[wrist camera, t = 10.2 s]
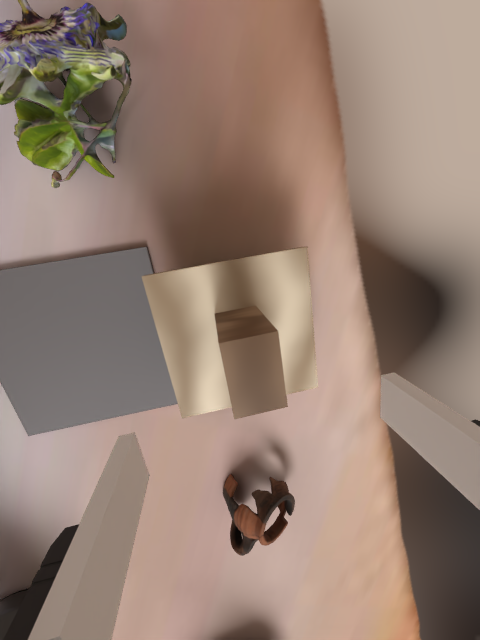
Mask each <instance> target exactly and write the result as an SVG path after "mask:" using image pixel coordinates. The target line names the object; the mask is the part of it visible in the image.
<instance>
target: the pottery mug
mask: <svg viewBox="0 0 480 640" xmlns="http://www.w3.org/2000/svg"><path fill="white" fill-rule="evenodd" d="M270 481H271V491H272V494H271V493H270V492H268V491H260V490H256V491H254V492H253V493H252V496H253V497H254V499H255V500H256V506H257V513H258V514H256V513H254V512H253V511H252V510H251V509H250V508H249V507H248V506H246V505H244V504H241V505H238V504H237V503H236V502H235V501H234V499H233V495H234V492H235V490H236V488H237V486H238V483H237V482H236V480H234V478H233V476H232V474H230V475H229V477H228V478H227V480H226V482H225V485H224V489H223V496H224V498H225V500H226V503H227V506H228V509H229V511H230V514H231V517H232V519H233V520H232V525H231V531H230V539H231V545H232V547H233V549H234V551H235V552H236V553H237V554H239V555H242V556H243V555H245V554H247V553H249V552H250V551H251V549H252V548H253V546H254V544H255V542H256V541H257V540H259V541H260V543H261V544H262V545H269V544H271V543H273V542H274V541H275V540H276V539H277V538H278V537H279V536H280V534H281V533H282V532H283V531H284V529H285V528H286V526H287V524H288V522H287V521H286V519H285V518H284V515H285V513H286V511H287V513H288V514H289V515H290V516H291V515H292V512H293V510H294V504H295V500H294V497H293V496H292V495H291V494H290V493H289V490H288V487H287V484H286V482H284V481H276V480H275V479H273V478H271V477H270ZM277 506H278V508H279V510H280V514H279V516H278V517H277V519H276V521H275V523H274V524H273V525H272V526H271V527H270V528H269V529H268V530H267V531H265V532H264V530H265V526H266V523H267V521H268V519H269V517H270V515H271V514H272V512H273V511H274V510H275V509H276V507H277ZM241 532H242V535H241ZM242 536H243V540H242Z"/></svg>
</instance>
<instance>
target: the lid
mask: <svg viewBox="0 0 480 640" xmlns="http://www.w3.org/2000/svg"><path fill="white" fill-rule="evenodd" d="M142 280H143V284H144V287H145V291H146V294H147V298H148V301H149V305H150V308H151V312H152V315H153V318H154V322H155V325H156V329H157V332H158V336H159V339H160V343H161V346H162V350H163V353H164V357H165V360H166V364H167V367H168V371H169V374H170V378H171V381H172V385H173V388H174V392H175V395H176V399H177V402H178V406H179V409H180V413H181V416H182V418H186V417H191V416H195V415H199V414H204V413H208V412H212V411H217V410H221V409H226V408H230V407H232V410H233V415H234V419H238V418H242V417H246V416H250V415H255V414H259V413H263V412H267V411H272V410H276V409H280V408H285V407H288V405H287V397H286V395H287V394H291V393H295V392H300V391H304V390H308V389H313V388H317V387H318V380H317V367H316V354H315V341H314V328H313V315H312V302H311V289H310V276H309V263H308V250H307V247H300V248H294V249H289V250H283V251H277V252H272V253H266V254H261V255H255V256H250V257H244V258H238V259H233V260H227V261H222V262H216V263H210V264H205V265H199V266H194V267H188V268H182V269H177V270H171V271H166V272H160V273H154V274H149V275H144V276H142Z"/></svg>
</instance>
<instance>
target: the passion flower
mask: <svg viewBox="0 0 480 640" xmlns="http://www.w3.org/2000/svg"><path fill="white" fill-rule="evenodd" d="M18 2H19V4H20V5H21V7H22V14H23V17H22V21H12V20H6V22H5V23H0V104H1V105H4V104H7V103H10V102H12V101H14V100H15V99H16V100H15V109H16V113H17V117H18V119H19V121H18V124H16V126H15V130H16V132H14V134H15V135H16V136H17V137H18V138H19V140H20V141H17V144H18V147H19V150H20V152H21V154H22V155H23V156H25V157H26V158H27V159H28V160H30V161H31V162H33V164H34V165H37V166H41V167H44V168H48V169H53V170H56V171H54V172H53V174H52V183H51V185H52V187H54V188H57V187H60V184H59V183H58V182H62V181H66V180H69V179H70V178H71V177H72V175H73V174H74V173H75V172H76V170H77V169H78V168H79V166H80V164H81V163H82V161H83V160H84V159H85V160H86V161H87V162H88V163H89V164H90V165H91V166H92V167H93V168H94V169H95V170H97V171H98V172H100V173H101V174H103V175H105V176H108V177H112V178H114V175H113V174H111V173H110V172H109V171H108V170H107V168H106V167H105V166H104V165H103V164H102V163H101V161H100V160H99V158H98V157H97V154H96V151H95V146H96V144H97V143H99V144H100V146H101V147H102V148H104V149H107V150H109V151H110V153H111V155H112V160H113V163H115V162H116V161H115V150H114V138H115V134H116V121H117V118H118V115H119V112H120V109H121V106H122V104H123V102H124V100H125V97H126V96H127V94H128V93H129V88H130V85H131V78H130V70H129V66H130V61H129V59H128V57H127V55H126V54H125V53H124V52H123V51H121V50H119V49H118V48H115V47H113V48H109V47H107V46H106V45H105V44H104V43H103V40H104V39H108V38H109V39H113V40H118V41H119V40H122V39H123V38H124V37H125V36H126V31H127V26H126V23H125V21H124V20H123V18H122V17H121V16H120V15H119V14H118V15H117V16H116V17H115V18H114V19H112V20H111V21H106V20H105V19H104V18H103V17H101V15H100V14H99V13H98V12H97V10H96V8H95V7H94V6H93V5H91V4H90V3H86V4H84V5H83V7H80V8H77V9H76V10H71V9H70V8H68V7H64V8H61V10H60V12H59V13H55V14H54V15H51V17H50V18H49V19H44V18H42V17H40V16H39V15H38V14H36V13H35V12H34V11H33V10H32V9H31V8H30V6H29V4H28V2H27V1H26V0H18ZM63 70H66V71H69V70H70V74H69V75H68V77H67V82H66V81H65V79H64V77H63V76H62V75H63V73H62V72H63ZM56 78H59V79H60V80H61V81H62V83H63V84H64V85H65V89H64V95H63V99H59V98H57V97H56V96H55V95H53V94H52V93H51V92H50V91H49V90H48V88H47V87H46V85H45V83H44V82H45V81H49V82H52V81H54V80H55V79H56ZM113 78H115V79H117V80H119V81H120V82H121V83H122V85H123V91H122V94H121V95H120V97H119V100H118V101H117V105H116V108H115V111H114V114H113V116H112V119H111V120H110V121H108V122H104V123H99V122H97V121H96V120H95V119H94V118H93V117H92V116H91V115H90V113H89V112H88V111H87V110H86V108H85V107H84V106H83V105H82V104H81V101H82V100H83V99H84V98H85V97H87V96H88V95H90V94H92V93H93V92H94V91H95V90H97V89H99V88H102V86H103V83H104V82H105V81H107V80H112V79H113ZM19 97H21V99H19ZM17 98H18V99H17ZM22 98H27V99H29V100H31V101H34V102H38V103H41V104H43V105H45V106H46V107H48V108H45V107H42V106H41V105H38V104H36V103H33V102H30V101H27V100H24V99H22ZM79 105H80V106H81V107H82V108H83V110H84V111H85V112H86V114H87V115H88V117H89V122H87V123H86V122H82V121H80V120H78V119H77V118H76V116H75V112H76V110H77V109H78V107H79ZM87 128H93V129H97V130H99V131H100V133H99V134H98V135H97V136H96V137H95V138H94V139H93V140H92V141H87V140H86V139H85V138H84V130H85V129H87ZM77 151H79V152H80V153H81V157H80V159H79V160H78V161H77V162H76V165H75V166H74V167H73V169H72V170H71V171H70V172H69V174H68V175H67V177H66V178H65V179H63V180H62V177H61V175H60V174H59V173H58V172H57V171H59V170H62V169H64V168H65V167H67V166H68V164H69V163H70V162H71V160H72V158H73V156H74V155H75V154H76V152H77Z"/></svg>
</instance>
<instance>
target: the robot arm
mask: <svg viewBox="0 0 480 640" xmlns="http://www.w3.org/2000/svg"><path fill="white" fill-rule="evenodd" d="M380 418H382V419H383V420H384V421H385V422H386V423H387V424H388V425H389V426H390V427H391V428H392V429H393V430H394V431H395V432H397V433H398V434H399V435H400V436H401V437H402V438H403V439H404V440H405V441H406V442H407V443H409V445H410V446H412V447H413V448H414V449H415V450H416V451H417V452H418V453H419V454H420V455H421V456H422V457H423V458H424V459H425V460H427V461H428V462H429V463H430V464H431V465H432V466H433V467H434V468H435V469H436V470H437V471H438V472H439V473H440V474H442V475H443V476H444V477H445V478H446V479H447V480H448V481H449V482H450V483H451V484H452V485H453V486H454V487H455V488H457V489H458V490H459V491H460V492H461V493H462V494H463V495H464V496H465V497H466V498H467V499H468V500H469V501H471V502H472V503H473V504H474V505H475V506H476V507H477V508H478V509H479V510H480V421H478V420H473V421H470V420H468V419H466V418H465V417H463V416H462V415H460V414H459V413H457V412H455V411H454V410H452V409H451V408H449V407H448V406H446V405H445V404H443V403H441V402H440V401H438V400H437V399H435V398H433V397H432V396H430V395H429V394H427V393H426V392H424V391H422V390H421V389H419V388H418V387H416V386H415V385H413V384H411V383H410V382H408V381H407V380H405V379H403V378H402V377H400V376H399V375H397V374H395V373H390V374H385V375H381V414H380ZM149 476H150V475H149V472H148V469H147V466H146V464H145V461H144V458H143V455H142V452H141V449H140V446H139V443H138V441H137V438H136V435H135V433H131V434H127V435H122V436H119V437H118V439H117V441H116V444H115V446H114V448H113V450H112V452H111V455H110V457H109V459H108V461H107V464H106V466H105V468H104V470H103V473H102V475H101V477H100V479H99V482H98V484H97V486H96V488H95V490H94V493H93V495H92V497H91V499H90V502H89V504H88V506H87V508H86V511H85V513H84V515H83V517H82V520H81V522H80V524H79V525H75V526H71V527H67V528H65V529H64V530H63V531H62V533H61V534H60V535H59V536H58V538H57V539H56V540H55V541H54V543H53V544H52V545H51V547H50V549H49V550H48V552H47V554H46V556H45V558H44V560H43V562H42V564H41V568H40V570H38V572H37V574H36V576H35V578H34V580H33V582H32V586H31V587H30V588H29V590H25V591H21V592H18V593H15V594H13V595H10V596H8V597H6V598H4V599H3V600H1V601H0V640H111V639H112V635H113V630H114V626H115V622H116V617H117V613H118V609H119V605H120V600H121V596H122V592H123V587H124V583H125V579H126V574H127V570H128V566H129V562H130V557H131V553H132V549H133V544H134V540H135V536H136V531H137V527H138V523H139V519H140V514H141V510H142V506H143V501H144V497H145V493H146V488H147V484H148V480H149Z"/></svg>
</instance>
